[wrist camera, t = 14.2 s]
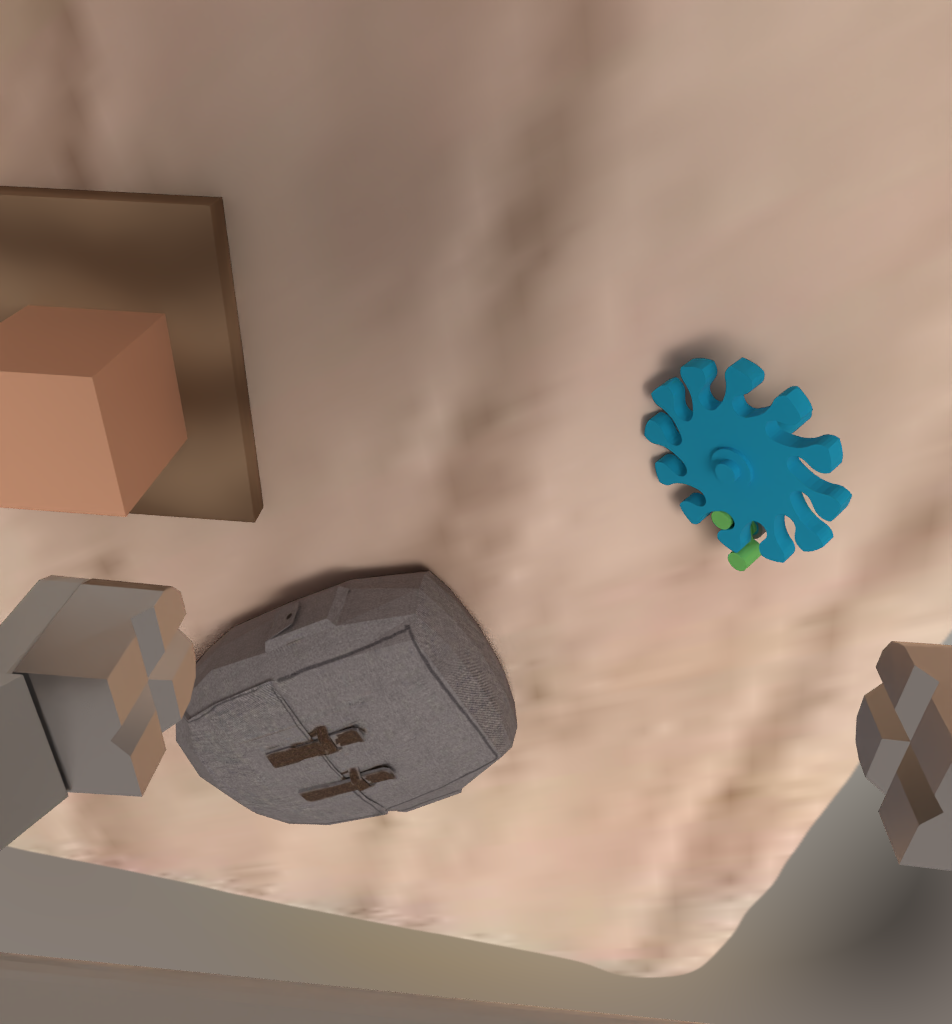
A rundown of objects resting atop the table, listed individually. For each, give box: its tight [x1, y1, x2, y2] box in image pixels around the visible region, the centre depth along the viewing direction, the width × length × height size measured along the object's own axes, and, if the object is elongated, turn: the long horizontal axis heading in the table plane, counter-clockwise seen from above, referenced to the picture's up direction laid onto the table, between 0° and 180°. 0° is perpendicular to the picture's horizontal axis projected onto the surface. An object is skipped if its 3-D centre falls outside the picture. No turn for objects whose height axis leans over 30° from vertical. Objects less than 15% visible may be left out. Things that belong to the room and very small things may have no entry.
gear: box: [644, 357, 852, 571], centre depth 38 cm, size 11×6×10 cm
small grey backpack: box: [176, 571, 517, 825], centre depth 48 cm, size 15×8×20 cm
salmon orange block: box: [0, 305, 188, 517], centre depth 36 cm, size 6×6×7 cm
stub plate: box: [0, 186, 263, 522], centre depth 38 cm, size 16×12×6 cm
